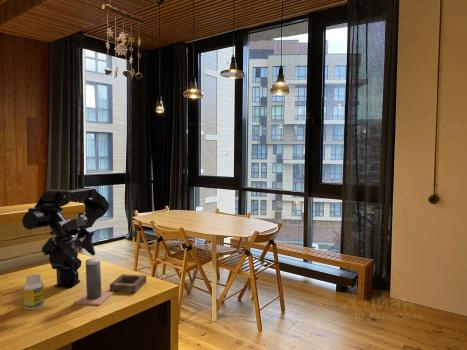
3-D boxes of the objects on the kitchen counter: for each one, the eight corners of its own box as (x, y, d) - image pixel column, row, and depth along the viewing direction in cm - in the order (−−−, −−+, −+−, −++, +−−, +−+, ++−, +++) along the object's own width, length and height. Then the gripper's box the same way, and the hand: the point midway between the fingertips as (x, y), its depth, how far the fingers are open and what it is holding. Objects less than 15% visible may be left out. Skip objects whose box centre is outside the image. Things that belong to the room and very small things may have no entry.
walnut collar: (110, 291, 122) (109, 284, 122) (122, 280, 132) (122, 274, 131) (135, 292, 121) (135, 286, 121) (146, 282, 130) (146, 275, 130)
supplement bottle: (35, 310, 108) (33, 280, 107) (20, 309, 109) (18, 278, 108) (48, 303, 113) (46, 273, 112) (33, 301, 114) (32, 272, 113)
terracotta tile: (74, 303, 113) (74, 301, 113) (89, 291, 121) (89, 290, 121) (99, 305, 111) (99, 303, 111) (113, 293, 120) (113, 291, 120)
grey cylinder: (84, 299, 115) (82, 262, 113) (91, 293, 119) (90, 257, 118) (96, 300, 114) (95, 263, 113) (103, 294, 118) (102, 258, 117)
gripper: (47, 213, 108) (75, 252, 105) (90, 204, 126) (116, 237, 123) (29, 236, 112) (57, 274, 109) (74, 223, 129) (98, 256, 126)
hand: (84, 258), depth 117 cm, fingers open, 9 cm apart
